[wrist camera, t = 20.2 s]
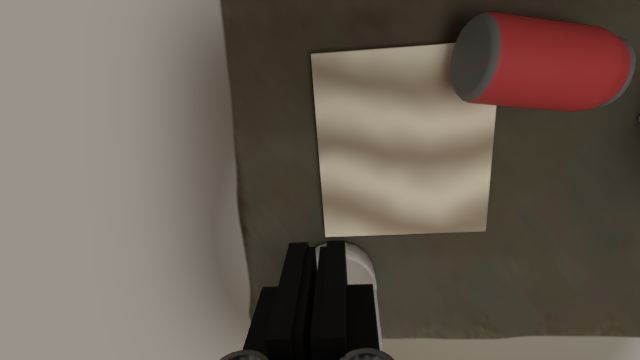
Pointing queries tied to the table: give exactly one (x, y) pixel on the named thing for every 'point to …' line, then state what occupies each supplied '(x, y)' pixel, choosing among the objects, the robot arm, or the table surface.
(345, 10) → the table surface
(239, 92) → the table surface
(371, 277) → the bottle
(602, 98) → the beer can
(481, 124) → the birch board
